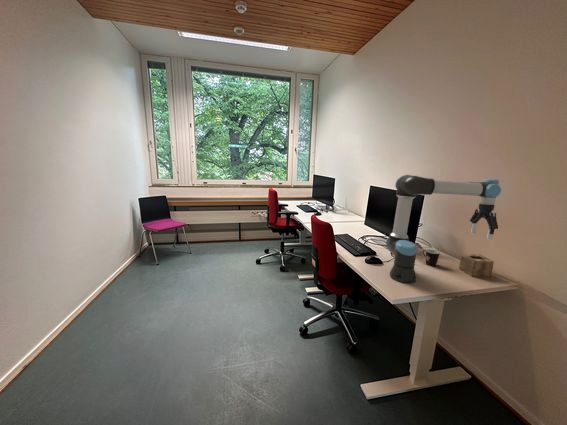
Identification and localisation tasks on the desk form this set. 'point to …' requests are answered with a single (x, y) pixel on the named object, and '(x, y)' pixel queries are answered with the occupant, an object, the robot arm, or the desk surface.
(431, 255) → the coffee mug
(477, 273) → the box
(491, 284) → the desk surface
